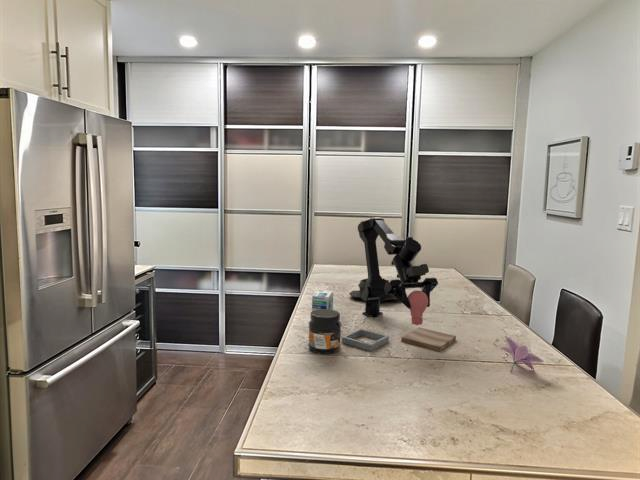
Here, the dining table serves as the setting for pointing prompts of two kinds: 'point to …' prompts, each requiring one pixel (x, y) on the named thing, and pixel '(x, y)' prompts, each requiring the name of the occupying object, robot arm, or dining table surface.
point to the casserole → (362, 287)
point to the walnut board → (428, 339)
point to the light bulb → (417, 306)
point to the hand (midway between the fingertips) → (419, 307)
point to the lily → (520, 354)
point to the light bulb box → (322, 300)
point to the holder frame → (350, 341)
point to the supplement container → (324, 331)
